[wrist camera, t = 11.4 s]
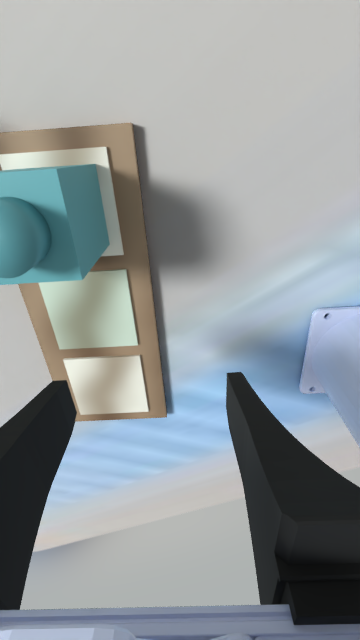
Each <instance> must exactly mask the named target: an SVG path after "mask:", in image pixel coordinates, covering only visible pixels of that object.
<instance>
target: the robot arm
mask: <svg viewBox="0 0 360 640" xmlns="http://www.w3.org/2000/svg"><path fill="white" fill-rule="evenodd" d="M327 313H329V315H328V316H327V317H324V316H325V314H327ZM311 387H313V388H311ZM299 389H300V391H301V393H303V394H310V393H326V394H327V395H328V397H329V398H330V400H331V402H332V403H333V405H334V407H335V408H336V410H337V412H338V413H339V415H340V416H341V418H342V420H343V421H344V423H345V425H346V426H347V428H348V430H349V431H350V433H351V434H352V436H353V438H354V439H355V441H356V443H357V444H358V446H359V448H360V306H356V307H338V308H320V309H317V310H315V311H314V312H313V313H312V317H311V323H310V328H309V334H308V340H307V345H306V351H305V357H304V362H303V368H302V373H301V379H300V385H299ZM226 409H227V416H228V423H229V429H230V433H231V437H232V441H233V446H234V449H235V453H236V457H237V461H238V465H239V469H240V473H241V477H242V482H243V487H244V493H245V499H246V505H247V512H248V518H249V525H250V531H251V538H252V545H253V552H254V560H255V567H256V574H257V581H258V589H259V596H260V604H261V605H237V606H236V605H233V606H184V607H137V608H90V609H44V610H42V609H41V610H20V605H21V600H22V595H23V590H24V586H25V581H26V577H27V572H28V568H29V563H30V560H31V556H32V551H33V547H34V543H35V539H36V536H37V532H38V528H39V525H40V521H41V517H42V514H43V510H44V507H45V504H46V500H47V497H48V494H49V491H50V488H51V485H52V482H53V480H54V477H55V475H56V472H57V470H58V468H59V465H60V463H61V460H62V458H63V455H64V453H65V450H66V448H67V445H68V442H69V440H70V437H71V435H72V431H73V427H74V424H75V419H76V415H77V411H76V408H75V405H74V402H73V399H72V396H71V392H70V389H69V386H68V383H67V380H58V381H52V382H51V383H50V384H49V385H48V386H47V387H46V388H44V389H43V390H42V391H41V392H40V393H39V394H38V395H37V396H36V397H35V398H34V399H32V400H31V401H30V402H29V403H28V404H27V405H26V406H25V407H24V408H23V409H21V410H20V411H19V412H18V413H17V414H16V415H15V416H14V417H12V418H11V419H10V420H9V421H8V422H6V423H5V424H4V425H3V426H2V427H0V640H360V487H358V486H357V485H355V484H353V483H352V482H350V481H349V480H347V479H346V478H344V477H342V476H341V475H340V474H339V473H337V472H336V471H335V470H333V469H332V468H330V467H329V466H328V465H326V464H325V463H324V462H323V461H322V460H320V459H319V458H318V457H317V456H315V455H314V454H313V453H312V452H310V451H309V450H308V449H307V448H306V447H305V446H303V445H302V444H301V443H300V442H299V441H298V440H297V439H296V438H295V437H294V436H293V435H292V434H291V433H290V432H289V431H288V430H287V429H286V428H285V427H284V426H283V425H282V424H281V423H280V422H279V421H278V420H277V419H276V418H275V416H274V415H273V414H272V413H271V412H270V411H269V409H268V408H267V407H266V406H265V404H264V403H263V402H262V401H261V399H260V398H259V397H258V395H257V394H256V393H255V391H254V390H253V389H252V387H251V386H250V384H249V383H248V381H247V380H246V378H245V376H244V375H243V374H242V373H241V372H235V373H227V396H226Z"/></svg>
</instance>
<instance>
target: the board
mask: <svg viewBox="0 0 360 640" xmlns="http://www.w3.org/2000/svg"><path fill="white" fill-rule="evenodd" d="M85 164H96V169H97V175H98V180H99V186H100V192H101V197H102V203H103V209H104V214H105V220H106V226H107V231H108V237H109V243H110V245H109V246H108V247H107V249H106V250H105V251H104V253H103V254H102V255H101V257H100V258H99V259H98V261H97V262H96V263H95V264H94V266H93V267H92V268H91V270H90V271H89V272H88V274H87V275H86V276H85V278H84V279H83V280H76V281H58V282H41V283H23V284H18V285H19V288H20V290H21V293H22V296H23V299H24V302H25V304H26V307H27V310H28V313H29V316H30V318H31V321H32V324H33V327H34V330H35V332H36V335H37V338H38V341H39V344H40V346H41V349H42V352H43V355H44V358H45V360H46V363H47V366H48V369H49V372H50V374H51V377H52V380H53V381H58V380H67V383H68V386H69V389H70V392H71V396H72V399H73V402H74V405H75V408H76V411H77V415H76V419H75V421H95V420H117V419H139V418H161V417H167V408H166V400H165V391H164V383H163V374H162V366H161V357H160V349H159V341H158V332H157V324H156V315H155V307H154V298H153V290H152V281H151V273H150V264H149V256H148V248H147V239H146V231H145V222H144V214H143V205H142V197H141V188H140V180H139V171H138V163H137V155H136V146H135V138H134V129H133V124H132V123H122V124H109V125H96V126H83V127H70V128H57V129H44V130H30V131H17V132H4V133H0V171H2V170H12V169H25V168H40V167H55V166H70V165H85Z"/></svg>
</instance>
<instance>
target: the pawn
mask: <svg viewBox="0 0 360 640" xmlns="http://www.w3.org/2000/svg"><path fill="white" fill-rule="evenodd" d="M109 245H110V243H109V237H108V231H107V226H106V220H105V214H104V209H103V203H102V197H101V192H100V186H99V180H98V175H97V169H96V164H85V165H70V166H55V167H40V168H25V169H12V170H2V171H0V285H5V284H23V283H41V282H58V281H76V280H83V279H84V278H85V276H86V275H87V274H88V272H89V271H90V270H91V268H92V267H93V266H94V264H95V263H96V262H97V261H98V259H99V258H100V257H101V255H102V254H103V253H104V251H105V250H106V249H107V247H108V246H109Z"/></svg>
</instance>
